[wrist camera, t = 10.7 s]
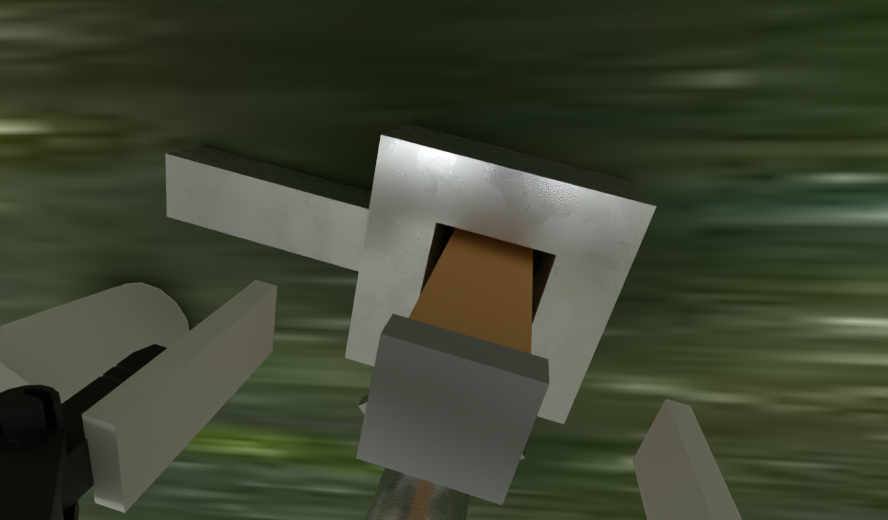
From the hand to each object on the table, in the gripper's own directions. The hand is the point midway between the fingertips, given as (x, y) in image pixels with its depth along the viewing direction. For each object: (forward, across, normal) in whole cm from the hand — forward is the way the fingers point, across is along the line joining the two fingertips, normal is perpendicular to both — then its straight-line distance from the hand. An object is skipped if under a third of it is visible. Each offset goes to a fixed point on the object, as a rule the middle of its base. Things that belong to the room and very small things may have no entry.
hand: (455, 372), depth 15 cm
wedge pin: (+12, 0, -1) cm, 12 cm away
